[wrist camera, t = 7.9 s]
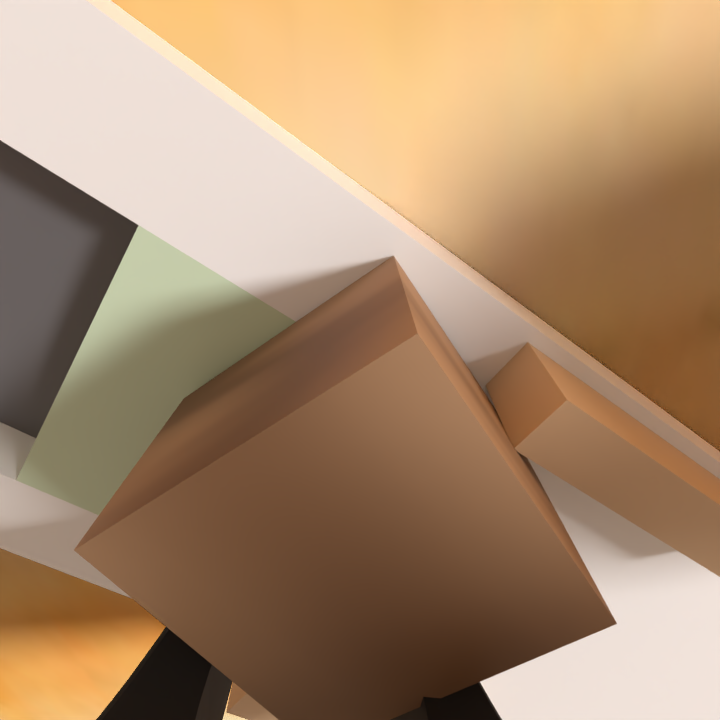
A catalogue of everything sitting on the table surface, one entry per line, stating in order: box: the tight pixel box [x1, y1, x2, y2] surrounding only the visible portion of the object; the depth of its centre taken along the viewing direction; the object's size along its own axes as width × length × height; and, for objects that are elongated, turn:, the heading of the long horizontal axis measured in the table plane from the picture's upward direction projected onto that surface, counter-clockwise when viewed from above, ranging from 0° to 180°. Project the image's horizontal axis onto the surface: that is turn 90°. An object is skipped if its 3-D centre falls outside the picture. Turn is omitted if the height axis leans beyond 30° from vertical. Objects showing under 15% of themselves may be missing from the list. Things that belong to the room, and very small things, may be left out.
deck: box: [0, 0, 720, 720], centre depth 11 cm, size 32×12×4 cm, turn 55°
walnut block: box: [74, 256, 617, 720], centre depth 8 cm, size 5×5×4 cm
